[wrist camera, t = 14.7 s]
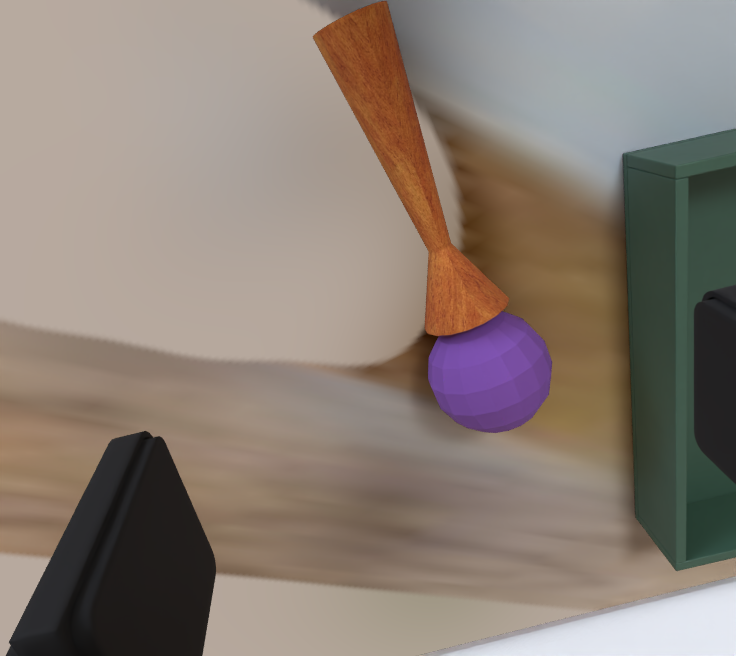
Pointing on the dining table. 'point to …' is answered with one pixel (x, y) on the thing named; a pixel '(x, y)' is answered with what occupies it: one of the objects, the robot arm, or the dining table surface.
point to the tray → (677, 337)
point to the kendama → (438, 241)
